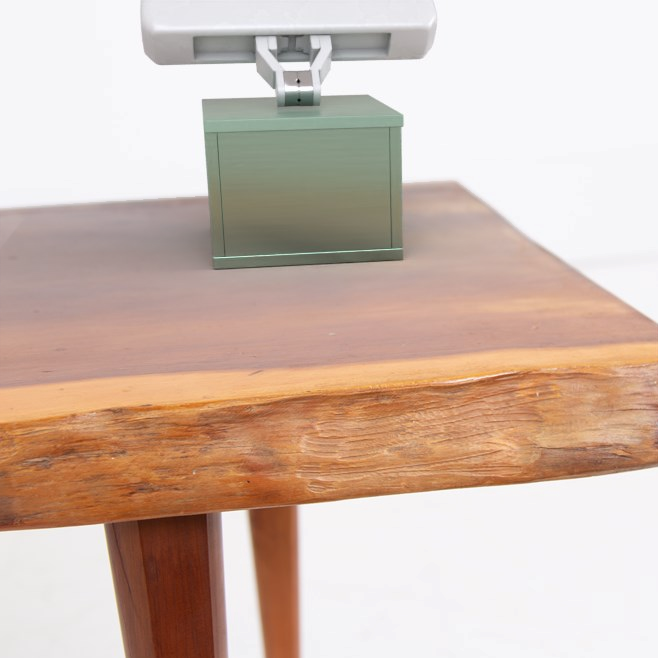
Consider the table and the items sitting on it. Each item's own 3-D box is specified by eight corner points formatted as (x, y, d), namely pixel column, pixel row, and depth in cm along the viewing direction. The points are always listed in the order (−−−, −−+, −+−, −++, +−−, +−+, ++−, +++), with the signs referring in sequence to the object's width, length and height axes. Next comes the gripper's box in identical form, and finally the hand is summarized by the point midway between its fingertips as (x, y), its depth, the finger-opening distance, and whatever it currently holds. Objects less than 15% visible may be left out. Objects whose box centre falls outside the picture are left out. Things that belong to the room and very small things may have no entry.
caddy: (403, 259, 75) (401, 125, 72) (213, 269, 73) (204, 131, 70) (371, 220, 89) (368, 105, 86) (210, 227, 87) (202, 110, 84)
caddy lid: (403, 127, 72) (403, 114, 71) (204, 133, 70) (203, 120, 69) (368, 105, 86) (368, 94, 86) (202, 109, 84) (201, 98, 84)
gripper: (417, -20, 85) (445, 126, 79) (141, -17, 82) (149, 136, 76) (429, -88, 79) (459, 64, 74) (133, -88, 76) (141, 71, 70)
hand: (299, 100), depth 75 cm, fingers closed, pressing on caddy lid
